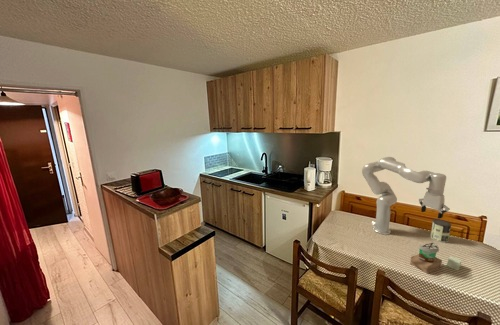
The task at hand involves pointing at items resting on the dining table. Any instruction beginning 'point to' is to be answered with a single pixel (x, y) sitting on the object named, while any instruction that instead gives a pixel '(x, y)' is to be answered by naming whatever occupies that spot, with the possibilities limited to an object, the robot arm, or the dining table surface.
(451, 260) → the sage block
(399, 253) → the dining table surface
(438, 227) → the coffee can
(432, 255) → the food container
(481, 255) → the dining table surface
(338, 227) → the dining table surface
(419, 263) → the walnut block
